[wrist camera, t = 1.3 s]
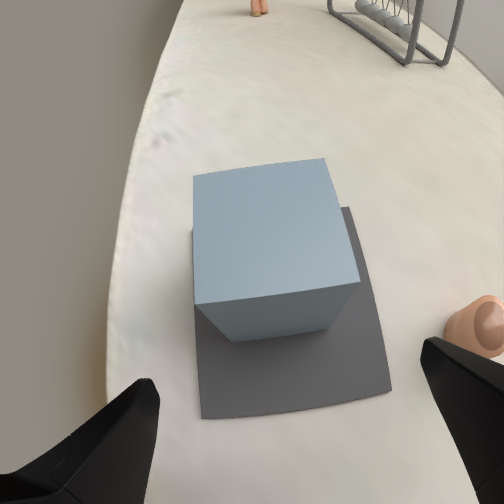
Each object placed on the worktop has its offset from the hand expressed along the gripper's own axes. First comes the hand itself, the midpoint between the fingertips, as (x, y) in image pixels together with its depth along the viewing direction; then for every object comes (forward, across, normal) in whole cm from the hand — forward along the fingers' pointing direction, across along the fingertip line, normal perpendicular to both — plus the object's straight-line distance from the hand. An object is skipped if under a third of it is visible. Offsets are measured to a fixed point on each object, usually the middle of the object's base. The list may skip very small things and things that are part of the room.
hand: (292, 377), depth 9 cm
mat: (+13, -1, +5) cm, 14 cm away
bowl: (+10, -16, +9) cm, 20 cm away
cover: (+14, 0, +4) cm, 15 cm away
